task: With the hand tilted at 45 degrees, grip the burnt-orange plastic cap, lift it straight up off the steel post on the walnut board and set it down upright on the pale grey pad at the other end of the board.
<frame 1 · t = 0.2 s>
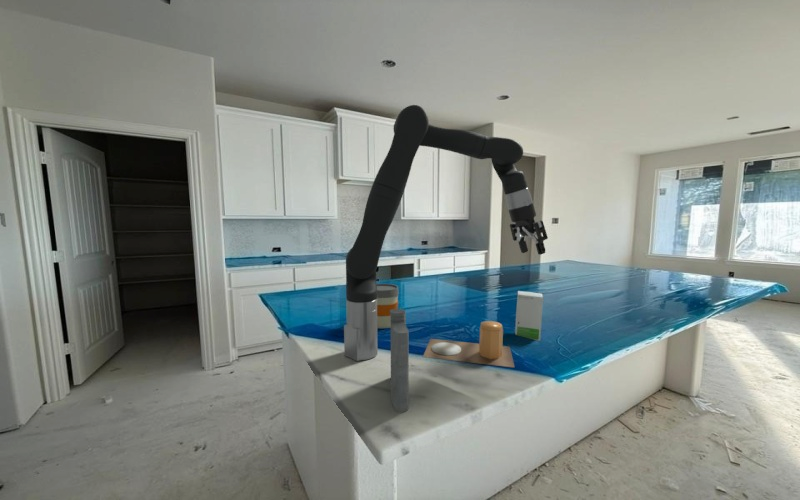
hand: (533, 253, 99), 30 cm above the table, tool tilted 20°, fingers open, 8 cm apart
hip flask: (398, 392, 73), on the table
skincare box: (527, 337, 107), on the table
post board: (467, 356, 91), on the table
reusable coffee cup: (383, 324, 120), on the table
cap: (490, 354, 90), point 1 cm above the table, touching post board
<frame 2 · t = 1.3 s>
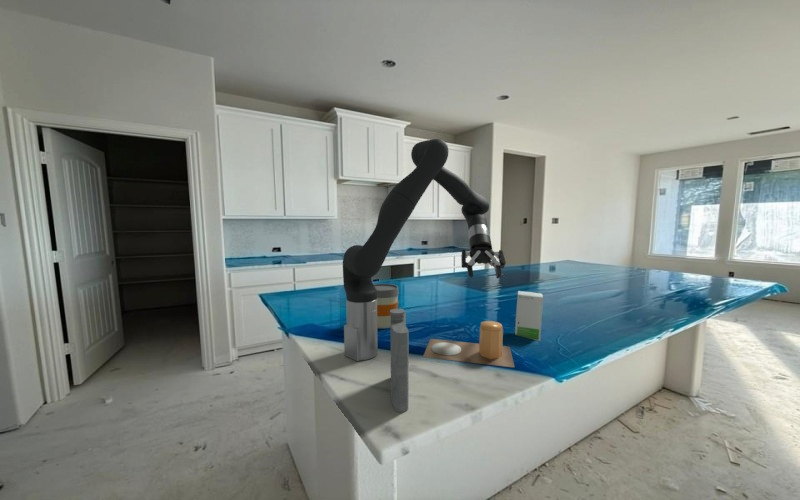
hand: (485, 276, 99), 22 cm above the table, tool tilted 45°, fingers open, 8 cm apart
nothing on the table moved.
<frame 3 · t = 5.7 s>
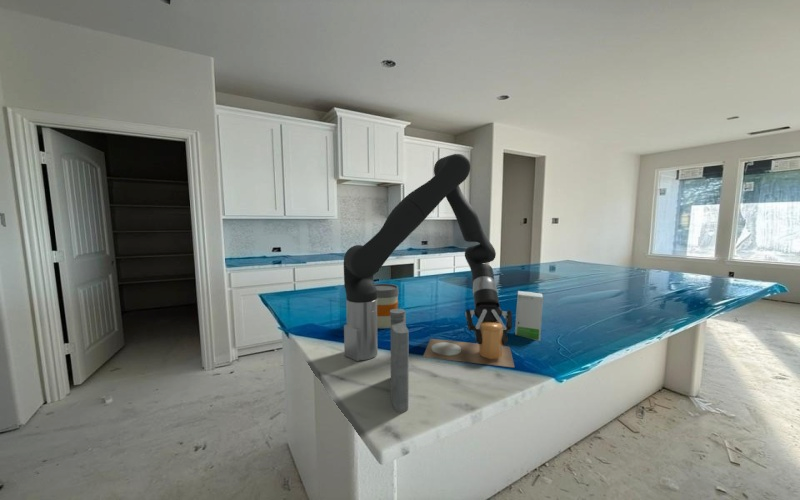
hand: (492, 343, 88), 5 cm above the table, tool tilted 45°, fingers closed on cap, 6 cm apart
cap: (490, 354, 90), point 2 cm above the table, touching gripper, post board
everything else where it was.
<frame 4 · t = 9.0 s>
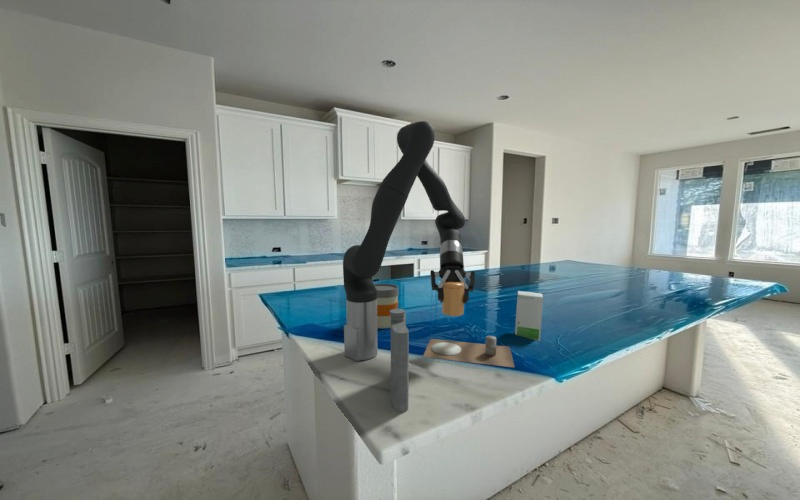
hand: (453, 301, 89), 17 cm above the table, tool tilted 45°, fingers closed on cap, 6 cm apart
cap: (452, 312, 91), point 13 cm above the table, touching gripper
everything else where it was.
when the fingers open (7 cm above the table, at t = 12.3 s): cap drops 1 cm, resting on post board.
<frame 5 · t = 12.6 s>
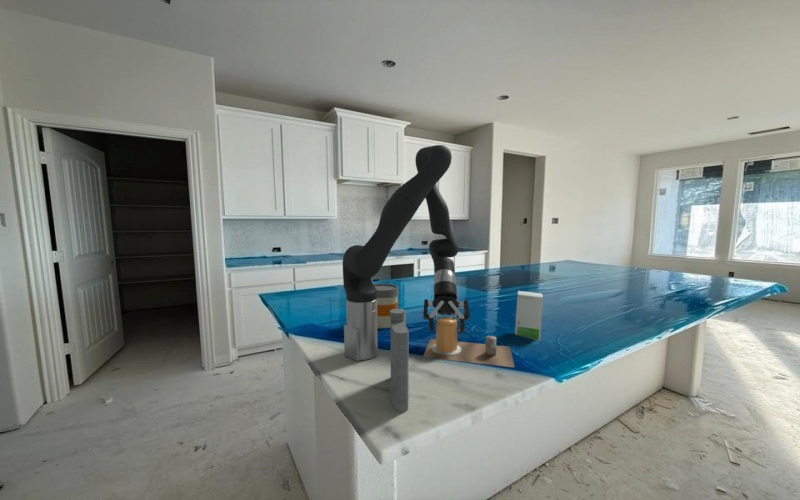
hand: (446, 332, 91), 7 cm above the table, tool tilted 45°, fingers open, 8 cm apart
cap: (446, 348, 93), point 2 cm above the table, touching post board
everything else where it was.
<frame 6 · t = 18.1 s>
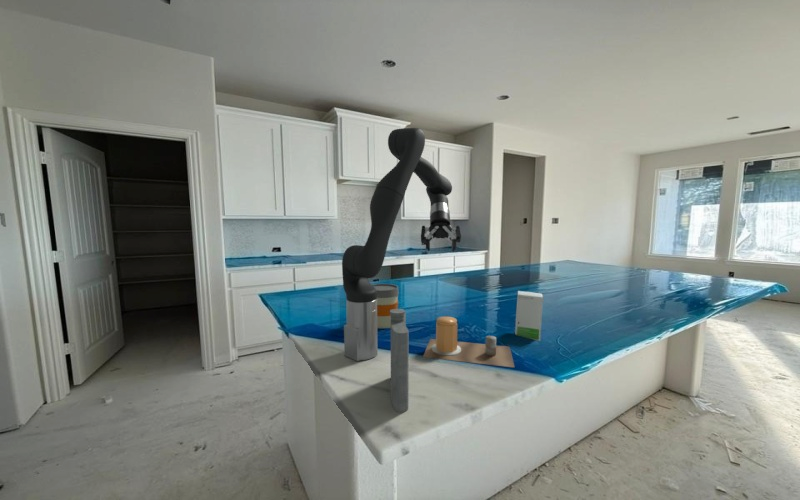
hand: (441, 249, 106), 31 cm above the table, tool tilted 45°, fingers open, 8 cm apart
nothing on the table moved.
at the end: cap 0.1 cm from the target spot on the post board, point 1.8 cm above the post board's base; cap tilted 0°; the gripper is holding nothing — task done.
